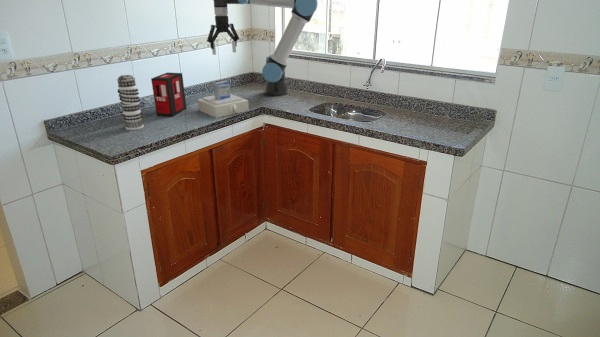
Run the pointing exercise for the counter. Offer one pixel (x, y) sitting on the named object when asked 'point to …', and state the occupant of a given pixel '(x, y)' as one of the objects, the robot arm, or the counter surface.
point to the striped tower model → (130, 102)
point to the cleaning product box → (169, 94)
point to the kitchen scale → (223, 105)
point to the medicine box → (221, 90)
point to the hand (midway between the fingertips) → (224, 53)
